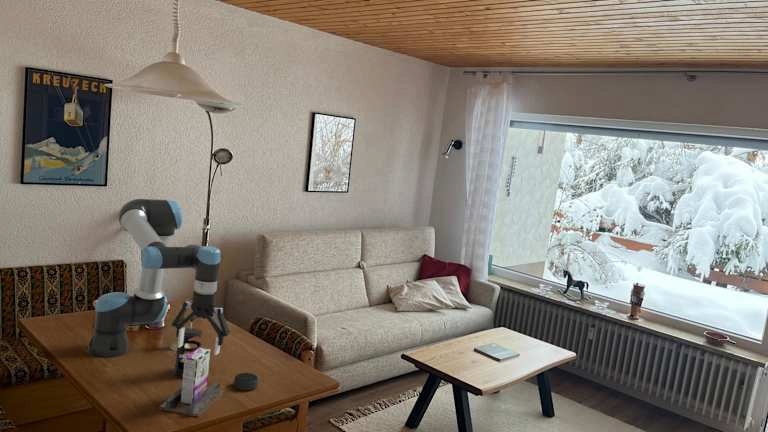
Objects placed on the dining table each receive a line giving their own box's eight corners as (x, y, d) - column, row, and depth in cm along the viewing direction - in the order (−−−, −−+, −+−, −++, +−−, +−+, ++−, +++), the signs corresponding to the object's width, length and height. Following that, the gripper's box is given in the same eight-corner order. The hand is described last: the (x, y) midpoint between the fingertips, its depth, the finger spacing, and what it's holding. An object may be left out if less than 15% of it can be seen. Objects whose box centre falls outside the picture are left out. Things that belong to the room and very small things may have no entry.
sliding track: (159, 409, 196) (160, 399, 196) (188, 385, 217) (189, 376, 217) (198, 417, 195) (199, 407, 194) (224, 392, 215) (225, 383, 215)
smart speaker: (230, 389, 219) (232, 379, 218) (236, 380, 228) (238, 370, 227) (254, 393, 219) (255, 383, 218) (259, 383, 228) (260, 373, 227)
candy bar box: (193, 390, 212) (198, 346, 210) (207, 392, 211) (211, 349, 209) (179, 402, 201) (183, 357, 199) (192, 405, 200) (197, 360, 198)
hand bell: (165, 348, 249) (169, 312, 247) (179, 343, 257) (182, 308, 255) (181, 353, 246) (184, 316, 244) (194, 347, 254) (198, 312, 252)
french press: (204, 376, 227) (210, 319, 224) (182, 381, 220) (188, 322, 217) (188, 365, 234) (193, 310, 232) (166, 370, 227) (172, 313, 225)
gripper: (165, 287, 199) (159, 346, 202) (234, 300, 196) (227, 360, 199) (176, 282, 206) (170, 340, 209) (243, 295, 204) (236, 353, 206)
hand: (198, 350), depth 204 cm, fingers open, 13 cm apart
